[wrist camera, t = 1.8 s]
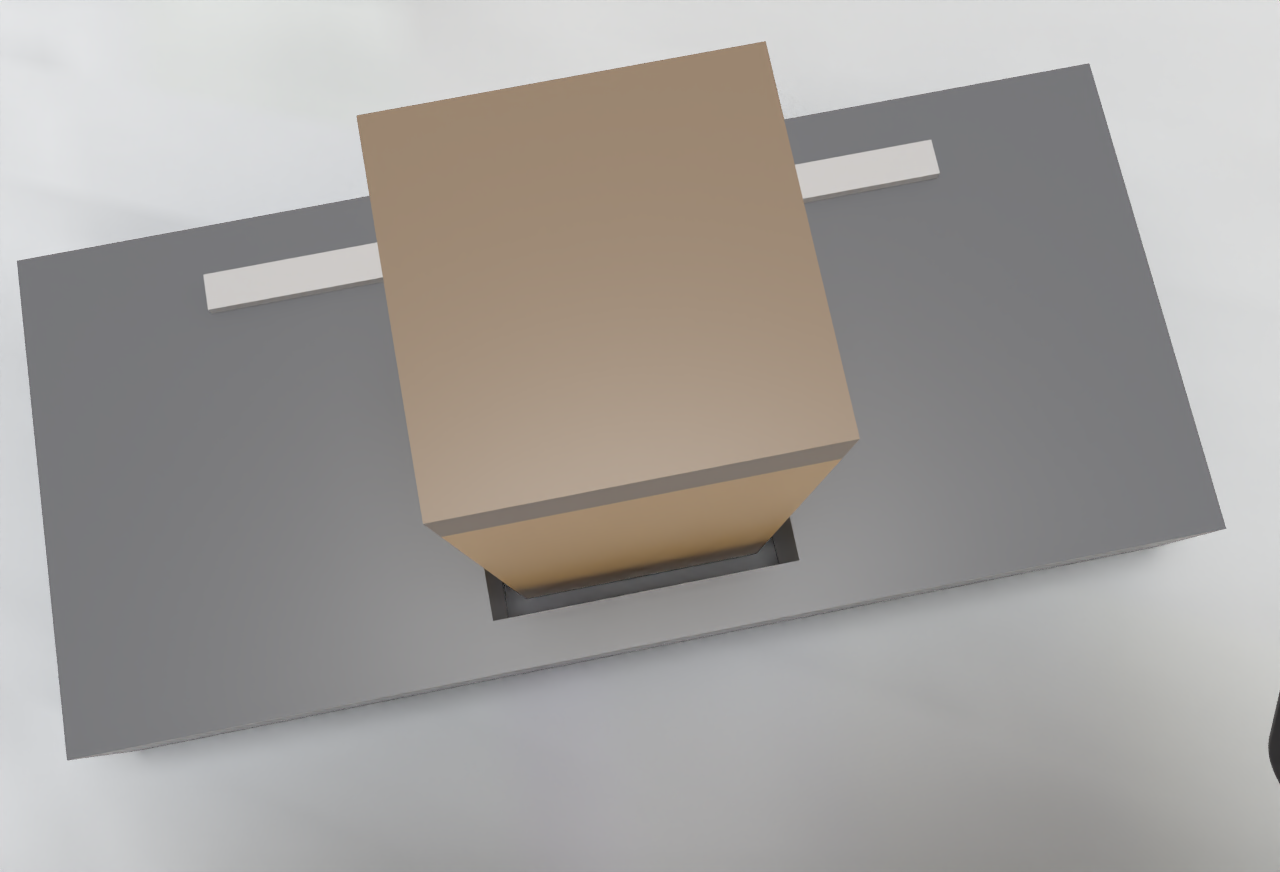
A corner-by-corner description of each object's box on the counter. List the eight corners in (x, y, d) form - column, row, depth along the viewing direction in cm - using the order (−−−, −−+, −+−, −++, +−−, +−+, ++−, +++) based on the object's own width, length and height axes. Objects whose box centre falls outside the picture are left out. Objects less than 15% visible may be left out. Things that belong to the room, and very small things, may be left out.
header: (1159, 546, 21) (1232, 526, 19) (135, 751, 21) (60, 761, 18) (1041, 129, 23) (1093, 57, 20) (85, 307, 22) (11, 256, 20)
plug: (756, 552, 21) (860, 439, 11) (526, 598, 21) (423, 524, 11) (708, 332, 22) (765, 41, 12) (486, 374, 21) (356, 115, 12)
